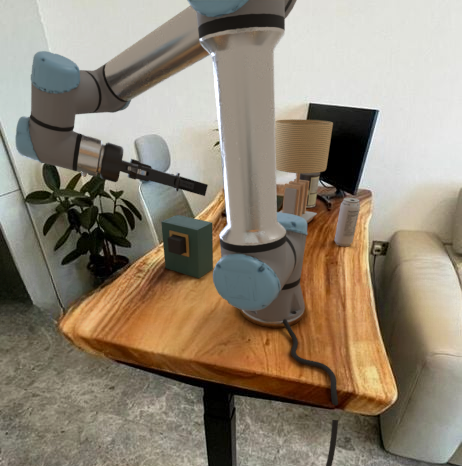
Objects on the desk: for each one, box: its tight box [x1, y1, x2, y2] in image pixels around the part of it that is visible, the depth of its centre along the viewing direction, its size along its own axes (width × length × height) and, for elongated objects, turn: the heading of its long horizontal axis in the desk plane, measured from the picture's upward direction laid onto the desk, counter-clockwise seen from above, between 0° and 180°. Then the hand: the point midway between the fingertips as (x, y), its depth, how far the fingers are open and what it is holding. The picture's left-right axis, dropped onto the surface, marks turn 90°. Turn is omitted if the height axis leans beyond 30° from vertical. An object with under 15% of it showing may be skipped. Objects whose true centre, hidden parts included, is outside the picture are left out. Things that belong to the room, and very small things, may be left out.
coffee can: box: [295, 172, 321, 209], centre depth 156 cm, size 10×10×14 cm
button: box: [167, 235, 186, 255], centre depth 95 cm, size 5×4×4 cm
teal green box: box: [160, 214, 214, 279], centre depth 98 cm, size 7×12×14 cm, turn 59°
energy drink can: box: [334, 197, 361, 247], centre depth 116 cm, size 6×6×15 cm
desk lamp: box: [275, 119, 334, 224], centre depth 130 cm, size 20×20×35 cm
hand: (205, 190), depth 84 cm, fingers closed
